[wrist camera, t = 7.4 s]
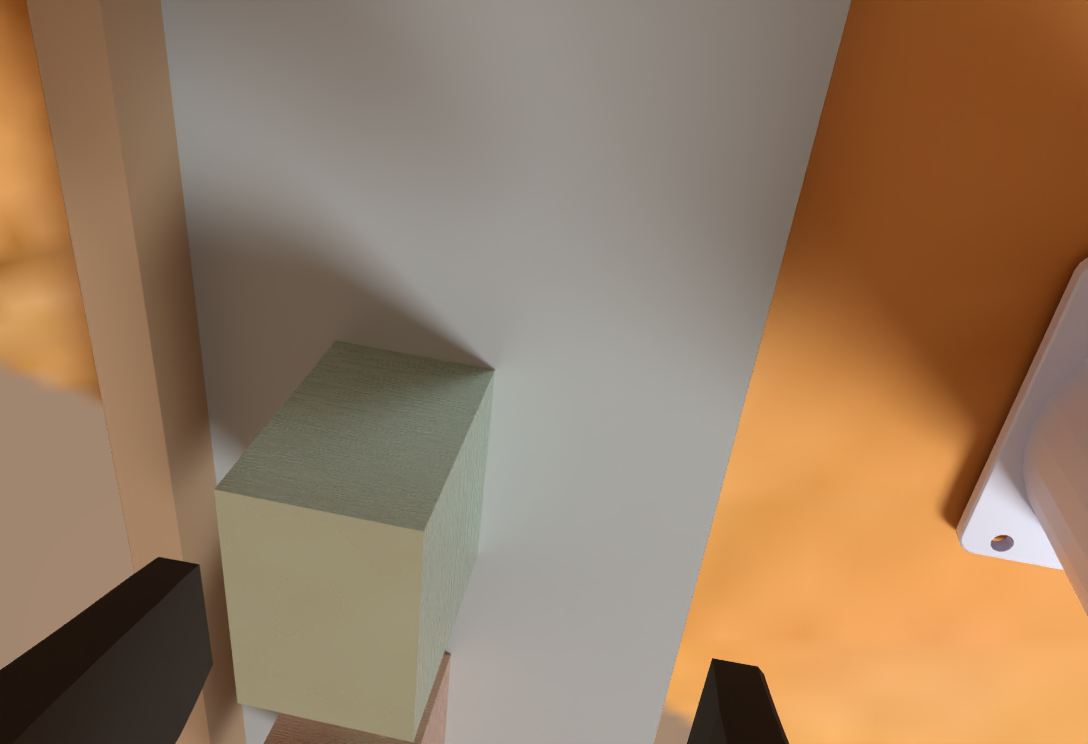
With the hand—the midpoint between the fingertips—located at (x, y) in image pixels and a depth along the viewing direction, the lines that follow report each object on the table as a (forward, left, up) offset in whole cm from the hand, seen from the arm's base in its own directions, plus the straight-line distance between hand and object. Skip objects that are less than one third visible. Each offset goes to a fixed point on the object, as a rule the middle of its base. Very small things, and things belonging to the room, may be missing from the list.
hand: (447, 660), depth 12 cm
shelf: (+3, +5, -10) cm, 12 cm away
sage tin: (+3, +4, -9) cm, 11 cm away
